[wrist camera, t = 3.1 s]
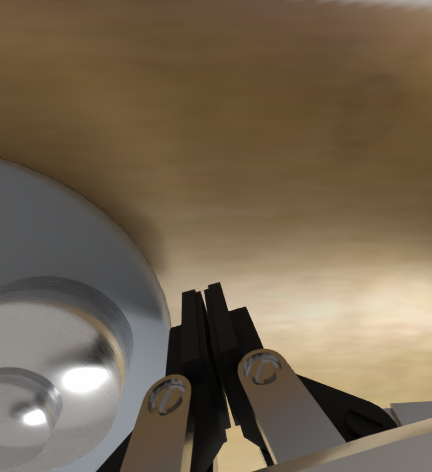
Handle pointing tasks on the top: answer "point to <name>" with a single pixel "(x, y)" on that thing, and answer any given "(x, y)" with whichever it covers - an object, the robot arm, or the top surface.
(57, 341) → the cover
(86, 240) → the turntable
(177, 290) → the top surface
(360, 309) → the top surface
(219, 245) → the top surface
